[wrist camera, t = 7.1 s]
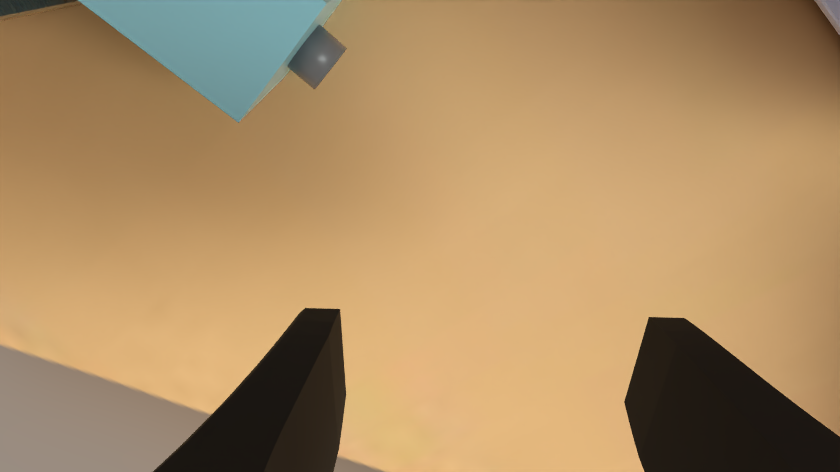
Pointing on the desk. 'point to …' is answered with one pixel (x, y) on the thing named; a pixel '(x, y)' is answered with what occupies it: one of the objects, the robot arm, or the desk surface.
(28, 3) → the port block
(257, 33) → the teal rectangular block
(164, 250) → the desk surface
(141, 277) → the desk surface
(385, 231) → the desk surface
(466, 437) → the desk surface
